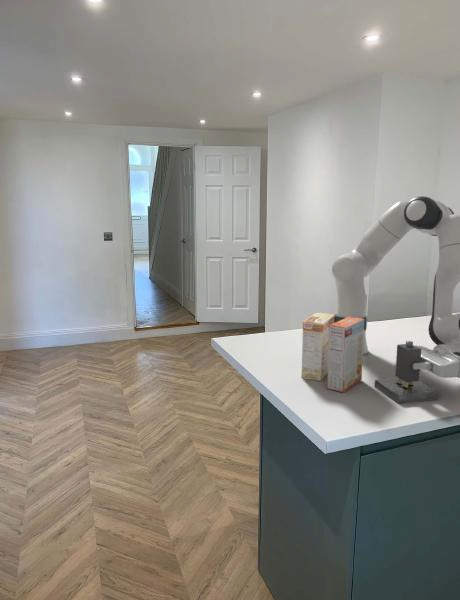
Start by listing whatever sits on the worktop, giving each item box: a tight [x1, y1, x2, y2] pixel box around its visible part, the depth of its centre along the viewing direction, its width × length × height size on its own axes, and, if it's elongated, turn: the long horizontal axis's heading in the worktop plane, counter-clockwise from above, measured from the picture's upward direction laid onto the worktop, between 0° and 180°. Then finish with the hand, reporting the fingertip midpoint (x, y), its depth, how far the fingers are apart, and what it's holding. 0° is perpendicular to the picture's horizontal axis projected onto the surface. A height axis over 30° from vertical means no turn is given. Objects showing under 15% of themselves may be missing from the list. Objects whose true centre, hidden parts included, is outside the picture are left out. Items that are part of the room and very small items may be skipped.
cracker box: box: [326, 317, 364, 394], centre depth 145 cm, size 14×6×21 cm, turn 141°
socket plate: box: [374, 377, 439, 405], centre depth 140 cm, size 13×13×3 cm
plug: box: [394, 340, 421, 388], centre depth 138 cm, size 6×4×14 cm
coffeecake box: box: [301, 312, 336, 382], centre depth 156 cm, size 15×7×20 cm, turn 152°
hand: (405, 362), depth 138 cm, fingers closed on plug, 5 cm apart
